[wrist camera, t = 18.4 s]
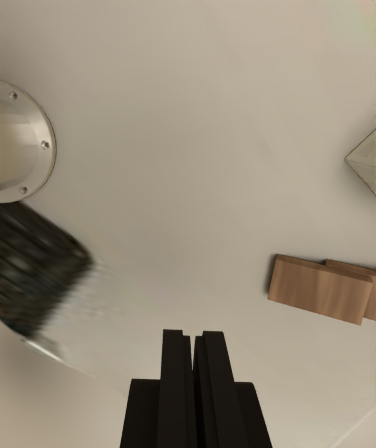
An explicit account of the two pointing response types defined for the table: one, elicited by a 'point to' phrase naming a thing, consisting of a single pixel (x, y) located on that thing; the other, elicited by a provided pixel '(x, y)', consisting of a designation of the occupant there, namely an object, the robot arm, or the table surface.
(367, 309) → the domino
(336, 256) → the table surface
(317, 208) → the table surface
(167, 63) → the table surface
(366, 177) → the small box
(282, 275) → the domino
